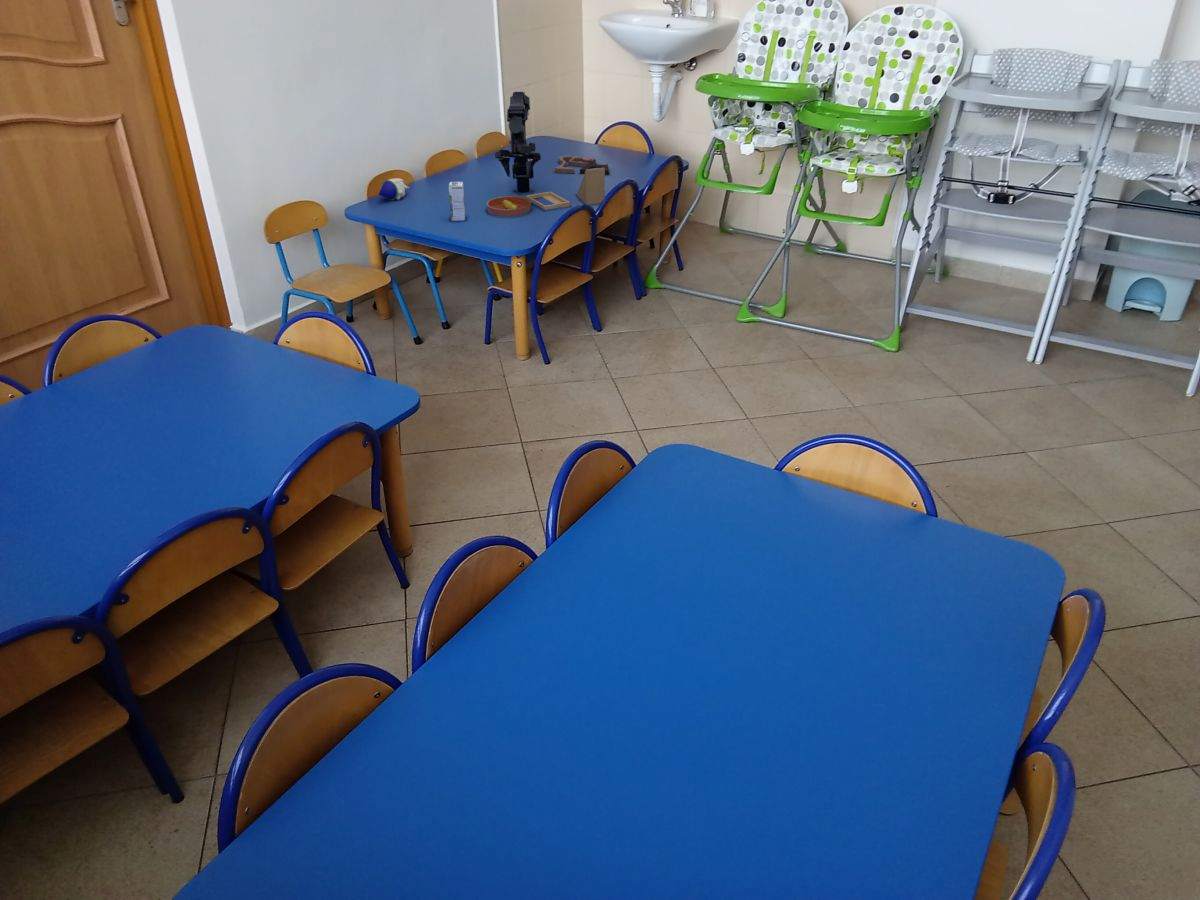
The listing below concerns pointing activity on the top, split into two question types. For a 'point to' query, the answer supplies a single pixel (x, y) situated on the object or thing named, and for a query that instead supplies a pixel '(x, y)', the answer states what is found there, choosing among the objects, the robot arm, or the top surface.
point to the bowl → (498, 208)
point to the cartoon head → (393, 189)
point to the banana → (509, 205)
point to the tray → (551, 197)
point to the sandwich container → (592, 186)
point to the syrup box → (457, 201)
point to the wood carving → (578, 164)
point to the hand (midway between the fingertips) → (518, 177)
